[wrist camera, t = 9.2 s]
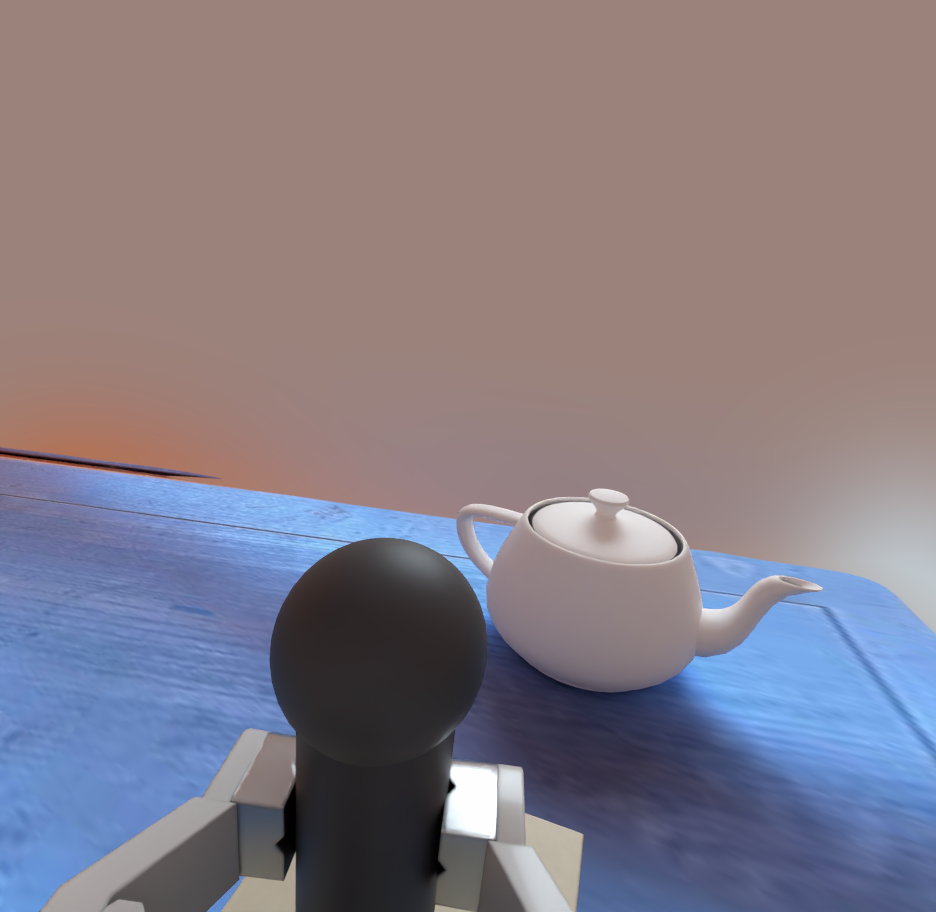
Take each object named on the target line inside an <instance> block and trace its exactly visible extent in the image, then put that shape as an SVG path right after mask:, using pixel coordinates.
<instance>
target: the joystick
mask: <svg viewBox="0 0 936 912" xmlns="http://www.w3.org/2000/svg"><path fill="white" fill-rule="evenodd" d="M487 645H488V643H487V633H486V624H485V620H484V616H483V612H482V609H481V606H480V603H479V601H478V599H477V596H476V594H475V592H474V591H473V589H472V587H471V586H470V584H469V583H468V581H467V579H466V578H465V577H464V576H463V574H462V573H461V572H460V571H459V570H458V569H457V568H456V567H455V566H454V565H453V564H452V563H451V562H450V561H448V560H447V559H446V558H445V557H443V556H442V555H440V554H439V553H437V552H436V551H434V550H432V549H430V548H428V547H426V546H423V545H421V544H418V543H416V542H412V541H408V540H403V539H395V538H374V539H367V540H361V541H357V542H354V543H351V544H349V545H346V546H343V547H341V548H338V549H337V550H335V551H333V552H331V553H330V554H328V555H326V556H325V557H323V558H322V559H320V560H319V561H318V562H316V563H315V564H314V565H313V566H312V567H311V568H310V569H309V570H307V571H306V572H305V573H304V574H303V576H302V577H301V578H300V579H299V580H298V582H297V583H296V584H295V585H294V586H293V588H292V589H291V591H290V593H289V594H288V596H287V598H286V599H285V601H284V603H283V605H282V607H281V609H280V612H279V614H278V617H277V619H276V623H275V626H274V630H273V634H272V638H271V648H270V669H271V678H272V684H273V688H274V691H275V695H276V698H277V701H278V704H279V706H280V708H281V709H282V711H283V713H284V715H285V717H286V719H287V720H288V722H289V724H290V725H291V726H292V727H293V728H294V730H295V731H296V852H295V854H294V857H293V859H292V862H291V864H290V867H289V870H288V872H287V875H286V877H285V880H284V881H278V880H270V879H262V878H253V877H245V878H244V879H243V881H242V882H241V884H240V885H239V887H238V888H237V889H236V891H235V892H234V894H233V895H232V897H231V898H230V899H229V901H228V902H227V904H226V905H225V907H224V908H223V910H222V911H221V912H472V911H466V910H461V909H456V908H450V907H445V906H440V905H434V904H433V902H434V892H435V882H436V873H437V865H438V855H439V847H440V838H441V830H442V822H443V813H444V805H445V799H446V796H447V795H448V787H449V778H450V770H451V761H452V752H453V743H454V734H455V728H456V727H457V726H458V725H459V724H460V723H461V721H462V720H463V719H464V717H465V716H466V714H467V713H468V711H469V709H470V708H471V706H472V704H473V702H474V700H475V698H476V697H477V694H478V691H479V689H480V686H481V683H482V680H483V677H484V672H485V667H486V660H487ZM525 832H526V846H530V847H534V849H535V850H536V852H537V854H538V855H539V857H540V859H541V860H542V862H543V864H544V865H545V867H546V868H547V870H548V872H549V873H550V875H551V877H552V878H553V880H554V881H555V883H556V885H557V886H558V888H559V890H560V891H561V893H562V894H563V896H564V898H565V899H566V901H567V903H568V904H569V906H570V908H571V909H572V911H573V912H576V911H577V901H578V890H579V880H580V869H581V859H582V849H583V838H584V837H583V834H582V833H579V832H576V831H573V830H571V829H568V828H565V827H562V826H559V825H557V824H554V823H551V822H548V821H546V820H543V819H540V818H537V817H535V816H532V815H529V814H526V813H525Z"/></svg>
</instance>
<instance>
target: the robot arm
mask: <svg viewBox="0 0 936 912" xmlns="http://www.w3.org/2000/svg"><path fill="white" fill-rule="evenodd" d="M295 852H296V736H294V735H288V734H282V733H277V732H268V731H262V730H256V729H250V728H248V729H246V730H245V731H244V732H243V733H242V734H241V735H240V737H239V738H238V740H237V742H236V743H235V745H234V746H233V748H232V750H231V751H230V753H229V754H228V756H227V758H226V759H225V761H224V762H223V764H222V766H221V767H220V769H219V770H218V772H217V774H216V775H215V777H214V778H213V780H212V781H211V783H210V785H209V786H208V788H207V789H206V791H205V793H204V794H203V796H202V797H201V798H200V797H193V798H192V799H190V800H189V801H187V802H186V803H184V804H183V805H181V806H180V807H178V808H177V809H175V810H174V811H172V812H171V813H169V814H168V815H166V816H165V817H163V818H162V819H160V820H158V821H157V822H155V823H154V824H152V825H151V826H149V827H148V828H146V829H145V830H143V831H142V832H140V833H139V834H137V835H136V836H134V837H133V838H131V839H130V840H128V841H127V842H125V843H124V844H122V845H121V846H119V847H118V848H116V849H115V850H113V851H112V852H110V853H109V854H107V855H106V856H104V857H103V858H101V859H100V860H98V861H97V862H95V863H94V864H92V865H91V866H89V867H88V868H86V869H85V870H83V871H82V872H80V873H79V874H77V875H76V876H74V877H73V878H71V879H70V880H68V881H67V882H65V883H64V884H62V885H61V886H59V887H58V889H57V890H56V891H55V892H54V894H53V895H52V896H51V898H50V899H49V900H48V902H47V903H46V904H45V905H44V907H43V908H42V909H41V911H40V912H206V911H207V910H208V909H209V908H210V907H211V906H212V905H214V904H215V903H216V902H217V901H218V900H219V899H220V898H221V897H222V896H223V895H224V894H225V893H226V892H227V891H228V890H229V889H230V888H231V887H232V886H233V885H234V884H235V883H236V882H237V881H238V880H239V876H245V877H253V878H262V879H270V880H278V881H284V880H285V877H286V875H287V872H288V870H289V867H290V864H291V862H292V859H293V857H294V854H295ZM433 904H434V905H440V906H445V907H450V908H456V909H461V910H466V911H472V912H573V911H572V909H571V908H570V906H569V904H568V903H567V901H566V899H565V898H564V896H563V894H562V893H561V891H560V890H559V888H558V886H557V885H556V883H555V881H554V880H553V878H552V877H551V875H550V873H549V872H548V870H547V868H546V867H545V865H544V864H543V862H542V860H541V859H540V857H539V855H538V854H537V852H536V850H535V849H534V847H530V846H526V832H525V804H524V775H523V770H522V767H517V766H509V765H502V764H498V765H497V764H496V763H488V762H481V761H473V760H465V759H457V758H452V761H451V770H450V778H449V787H448V795H447V796H446V799H445V805H444V813H443V822H442V830H441V838H440V847H439V855H438V865H437V873H436V882H435V892H434V902H433Z"/></svg>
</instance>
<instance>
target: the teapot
mask: <svg viewBox="0 0 936 912" xmlns="http://www.w3.org/2000/svg"><path fill="white" fill-rule="evenodd" d="M588 496H589V498H583V497H561V498H553V499H547V500H544V501H541V502H538V503H536V504H534V505H533V506H531V507H529V508H528V510H527V511H526V512H525V513H524V514H522V513H518V512H515V511H511V510H507V509H504V508H500V507H495V506H491V505H484V504H470V505H468V506H465V507H463V508H462V509H461V510H460V512H459V513H458V516H457V533H458V537H459V539H460V542H461V544H462V546H463V548H464V550H465V552H466V553H467V555H468V556H469V558H470V559H471V561H472V562H473V563H474V564H475V565H476V567H477V568H478V569H479V570H480V571H481V572H482V573H483V574H484V575H485V576H486V577H487V578H488V581H487V587H486V596H487V608H488V611H489V614H490V616H491V619H492V622H493V624H494V626H495V627H496V629H497V630H498V632H499V633H500V635H501V636H502V638H503V639H504V640H505V642H506V643H507V644H508V645H509V646H510V647H511V648H512V649H513V650H515V651H516V652H517V653H518V654H519V655H520V656H521V657H522V658H524V659H525V660H526V661H527V662H528V663H529V664H530V665H532V666H533V667H535V668H536V669H538V670H539V671H540V672H542V673H543V674H545V675H547V676H549V677H551V678H553V679H555V680H557V681H559V682H562V683H565V684H568V685H571V686H573V687H576V688H581V689H585V690H590V691H597V692H609V693H610V692H624V691H630V690H638V689H643V688H647V687H651V686H654V685H658V684H661V683H663V682H665V681H667V680H668V679H670V678H672V677H674V676H676V675H678V674H679V673H680V672H681V671H682V670H683V669H684V668H685V667H686V666H687V665H688V664H689V663H690V662H691V661H692V660H693V659H694V656H699V657H709V656H715V655H720V654H725V653H727V652H729V651H731V650H732V649H734V648H735V647H737V646H739V645H740V644H741V643H742V642H743V641H744V640H745V639H746V638H747V637H748V636H749V634H750V633H751V632H752V631H753V630H754V628H755V627H756V625H757V624H758V623H759V621H760V620H761V618H762V617H763V616H764V615H765V614H766V613H767V612H768V610H769V609H770V608H771V607H772V606H773V605H775V604H776V603H778V602H779V601H781V600H783V599H784V598H786V597H787V596H792V595H797V594H803V593H808V592H818V591H822V590H823V588H822V587H821V586H819V585H817V584H814V583H811V582H809V581H805V580H802V579H798V578H794V577H788V576H770V577H767V578H765V579H762V580H760V581H758V582H757V583H756V584H754V585H753V586H752V587H751V588H750V589H749V590H748V591H747V592H746V593H745V595H744V596H743V597H742V598H741V599H740V600H739V601H738V602H736V603H735V604H734V605H732V606H730V607H727V608H724V609H706V608H702V599H701V592H700V587H699V582H698V578H697V574H696V570H695V566H694V563H693V559H692V556H691V552H690V549H689V546H688V544H687V542H686V540H685V538H684V537H683V535H682V534H681V533H680V532H679V531H678V530H677V529H676V528H674V527H673V526H672V525H670V524H669V523H668V522H666V521H664V520H662V519H661V518H659V517H657V516H655V515H652V514H650V513H648V512H646V511H643V510H640V509H637V508H634V507H631V506H628V504H629V498H628V497H627V496H626V495H624V494H622V493H620V492H617V491H614V490H609V489H594V490H592V491H591V492H590V493H589V494H588ZM473 517H482V518H487V519H491V520H495V521H499V522H502V523H506V524H509V525H513V526H515V527H514V528H513V530H512V531H511V532H510V534H509V536H508V537H507V539H506V540H505V542H504V543H503V545H502V547H501V548H500V550H499V552H498V554H497V556H496V558H495V561H494V562H493V561H492V560H491V559H490V558H489V557H488V556H487V554H486V553H485V551H484V550H483V549H482V547H481V545H480V543H479V542H478V539H477V537H476V535H475V531H474V527H473Z"/></svg>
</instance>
